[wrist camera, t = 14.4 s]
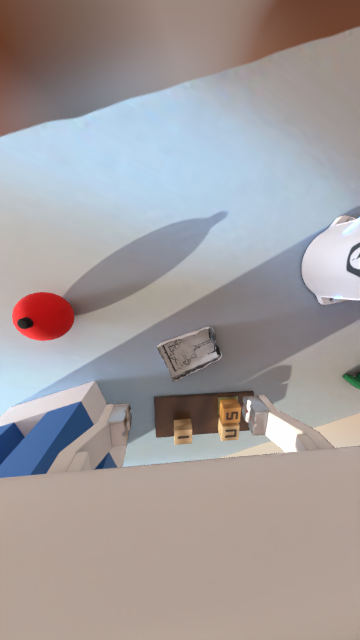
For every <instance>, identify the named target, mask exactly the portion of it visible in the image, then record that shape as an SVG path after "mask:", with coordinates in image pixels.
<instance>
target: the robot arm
mask: <svg viewBox="0 0 360 640" xmlns="http://www.w3.org/2000/svg"><path fill="white" fill-rule="evenodd" d="M302 277H303V280H304V283H305V284H306V286H307V287H308V288H309V289H310V290H311V291H312V292H313V293H314V294H315V295H316V297H317V299H318V302H319V303H320V304H322V305H328V304H333V303H337V302H342V301H347V300H360V218H358V219H357V218H354V217H350V216H347V215H343V216H339V217H337V218H336V219H335V220H334V222H333V223H332V224H331V225H330V227H329V228H328V229H327V230H326V231H324V232H323V233H321V234H320V235H318V236H317V237H316V238H315V239H314V240H313V241H312V242H311V244H310V245H309V247H308V248H307V250H306V252H305V254H304V257H303V261H302ZM243 403H244V405H243V406H242V415H243V418H244V420H245V421H246V422H247V423H249V424H248V427H249V429H250V431H251V432H252V434H253V435H266V436H267V437H268V438H269V439H270V440H272V441H273V442H274V443H275V444H276V445H278V446H279V447H280V448H281V449H283V450H284V451H285V453H274V454H263V455H253V456H241V457H229V458H218V459H207V460H196V461H185V462H174V463H163V464H151V465H140V466H129V467H118V468H107V469H96V470H94V469H95V468H96V467H97V466H98V464H99V463H100V462H101V461H102V460H103V458H104V457H105V456H106V455H107V453H108V452H109V451H110V450H111V449H112V447H116V446H125V445H126V443H127V439H128V431H129V430H130V427H131V413H130V409H131V407H130V404H129V403H128V404H108V405H107V406H106V407H105V409H104V411H103V414H102V416H101V418H100V420H99V422H98V424H95V425H93V426H92V427H91V428H90V429H88V430H87V431H86V432H85V433H83V434H82V435H81V436H80V437H78V438H77V439H76V440H75V441H73V442H72V443H71V444H70V445H68V446H67V447H66V448H65V449H63V450H62V451H61V452H60V453H59V454H58V456H57V457H56V459H55V460H54V462H53V464H52V465H51V467H50V469H49V470H48V472H47V473H46V474H39V475H28V476H17V477H6V478H0V640H360V446H353V447H341V448H335V447H333V446H332V444H331V443H330V442H328V440H327V439H326V438H324V436H323V435H322V434H321V433H320V432H318V431H316V430H314V429H313V428H311V427H309V426H307V425H305V424H303V423H301V422H300V421H298V420H296V419H294V418H292V417H290V416H288V415H287V414H285V413H283V412H281V411H278V410H277V409H276V408H275V407H274V406H273V404H272V403H271V402H270V401H269V400H268V399H267V397H266V396H265V395H257V396H245V397H243Z"/></svg>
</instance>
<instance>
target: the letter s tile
mask: <svg viewBox="0 0 360 640" xmlns="http://www.w3.org/2000/svg"><path fill="white" fill-rule="evenodd" d="M219 415H220V418H221V421H222V423H237V422H240V415H241V406H240V405H239V403H238V401H237V399H220V403H219Z"/></svg>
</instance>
